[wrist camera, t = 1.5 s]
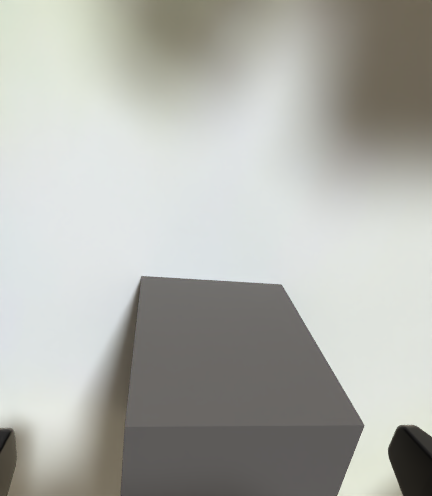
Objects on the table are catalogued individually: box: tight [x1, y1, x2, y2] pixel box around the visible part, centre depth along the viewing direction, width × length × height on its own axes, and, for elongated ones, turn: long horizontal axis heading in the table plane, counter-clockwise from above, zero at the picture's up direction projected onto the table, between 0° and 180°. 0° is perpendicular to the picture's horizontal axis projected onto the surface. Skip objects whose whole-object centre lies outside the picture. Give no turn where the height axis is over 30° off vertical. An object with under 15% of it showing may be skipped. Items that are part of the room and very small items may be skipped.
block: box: [121, 276, 364, 496], centre depth 9 cm, size 4×5×5 cm
